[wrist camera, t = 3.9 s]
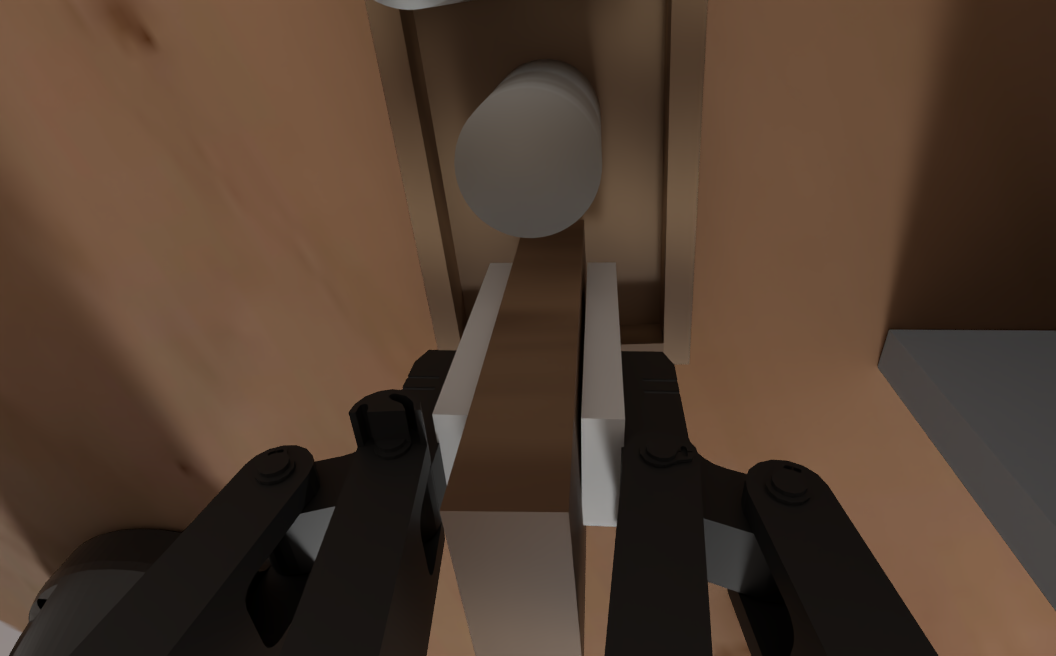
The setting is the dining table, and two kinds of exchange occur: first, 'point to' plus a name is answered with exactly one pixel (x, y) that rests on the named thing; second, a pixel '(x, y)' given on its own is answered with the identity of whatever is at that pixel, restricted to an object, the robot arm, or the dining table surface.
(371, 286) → the dining table surface
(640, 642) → the robot arm
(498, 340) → the tray
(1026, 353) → the grey step stool
